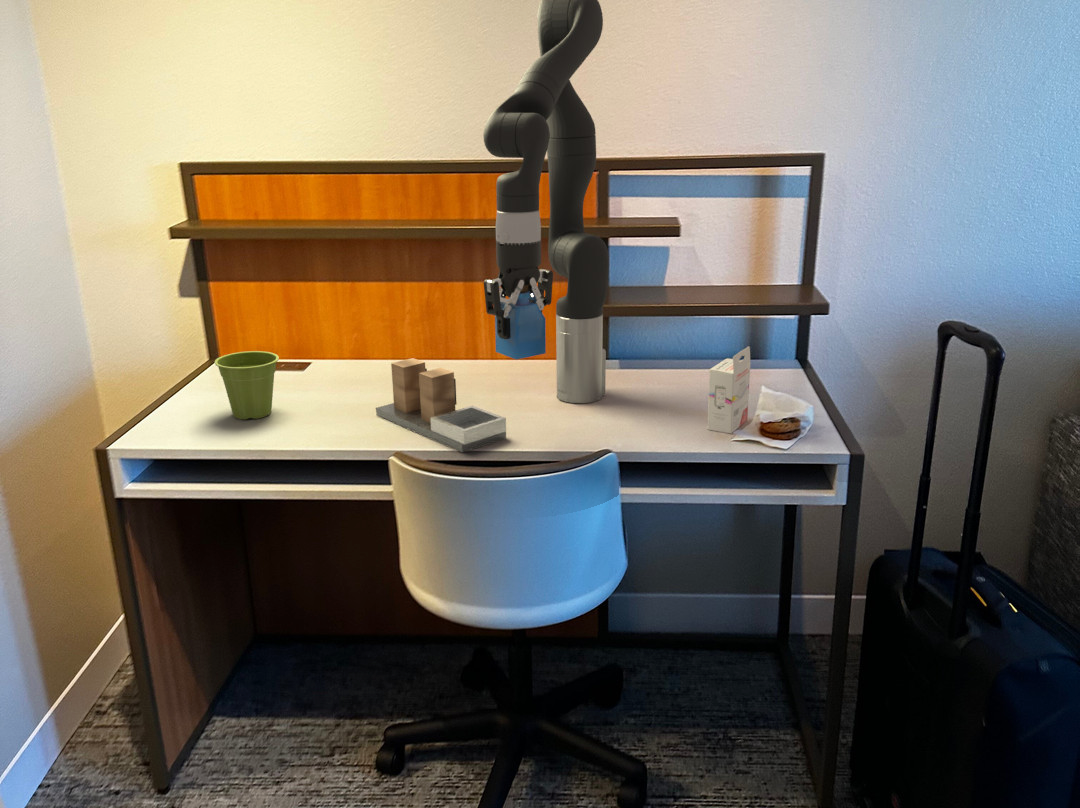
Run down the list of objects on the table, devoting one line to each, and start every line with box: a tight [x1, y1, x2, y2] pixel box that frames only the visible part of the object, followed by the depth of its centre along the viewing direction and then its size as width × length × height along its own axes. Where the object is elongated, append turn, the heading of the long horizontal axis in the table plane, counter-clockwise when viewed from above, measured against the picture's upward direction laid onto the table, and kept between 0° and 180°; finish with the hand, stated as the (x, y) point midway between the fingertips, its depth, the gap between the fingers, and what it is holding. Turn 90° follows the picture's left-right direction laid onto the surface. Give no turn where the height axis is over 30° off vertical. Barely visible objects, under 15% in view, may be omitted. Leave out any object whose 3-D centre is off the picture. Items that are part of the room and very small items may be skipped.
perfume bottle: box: [494, 285, 547, 360], centre depth 163 cm, size 6×6×12 cm
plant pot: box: [214, 350, 280, 420], centre depth 184 cm, size 12×12×11 cm
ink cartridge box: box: [706, 345, 751, 434], centre depth 174 cm, size 9×5×15 cm, turn 148°
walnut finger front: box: [419, 367, 458, 423], centre depth 176 cm, size 6×4×9 cm
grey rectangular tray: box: [375, 402, 507, 454], centre depth 177 cm, size 10×27×4 cm, turn 42°
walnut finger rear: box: [390, 357, 428, 413], centre depth 182 cm, size 6×4×9 cm
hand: (520, 334), depth 164 cm, fingers closed on perfume bottle, 6 cm apart
